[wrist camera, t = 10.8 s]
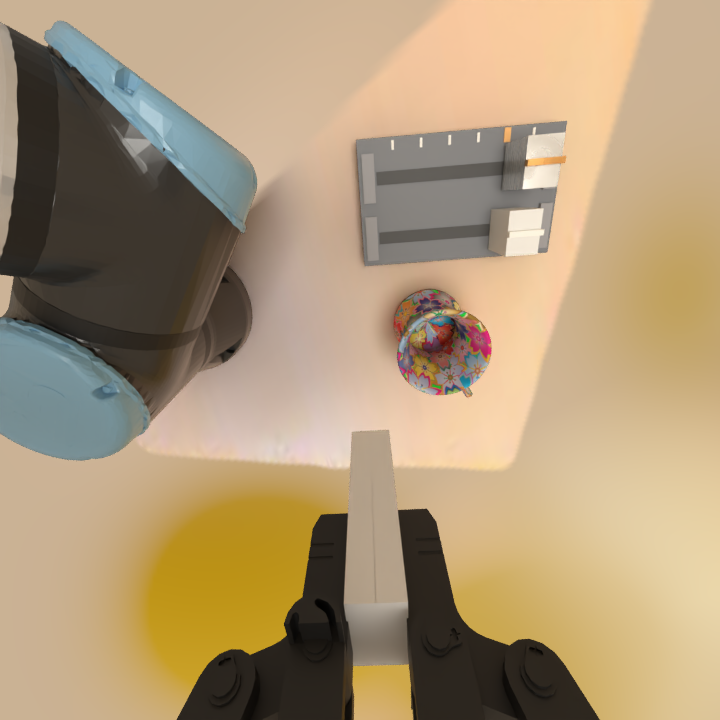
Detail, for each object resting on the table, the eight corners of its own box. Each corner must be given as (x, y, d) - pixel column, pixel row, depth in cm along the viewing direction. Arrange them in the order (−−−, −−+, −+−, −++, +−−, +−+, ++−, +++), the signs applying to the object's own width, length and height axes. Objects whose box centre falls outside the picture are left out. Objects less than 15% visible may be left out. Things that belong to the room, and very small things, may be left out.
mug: (376, 310, 43) (379, 342, 34) (442, 269, 41) (466, 291, 31) (422, 381, 47) (437, 427, 38) (484, 347, 45) (517, 387, 36)
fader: (501, 190, 35) (524, 189, 30) (505, 144, 33) (531, 134, 28) (532, 187, 35) (561, 186, 30) (538, 141, 33) (570, 130, 28)
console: (364, 262, 41) (364, 276, 33) (356, 143, 36) (354, 128, 28) (536, 249, 40) (576, 260, 32) (553, 125, 35) (606, 106, 27)
